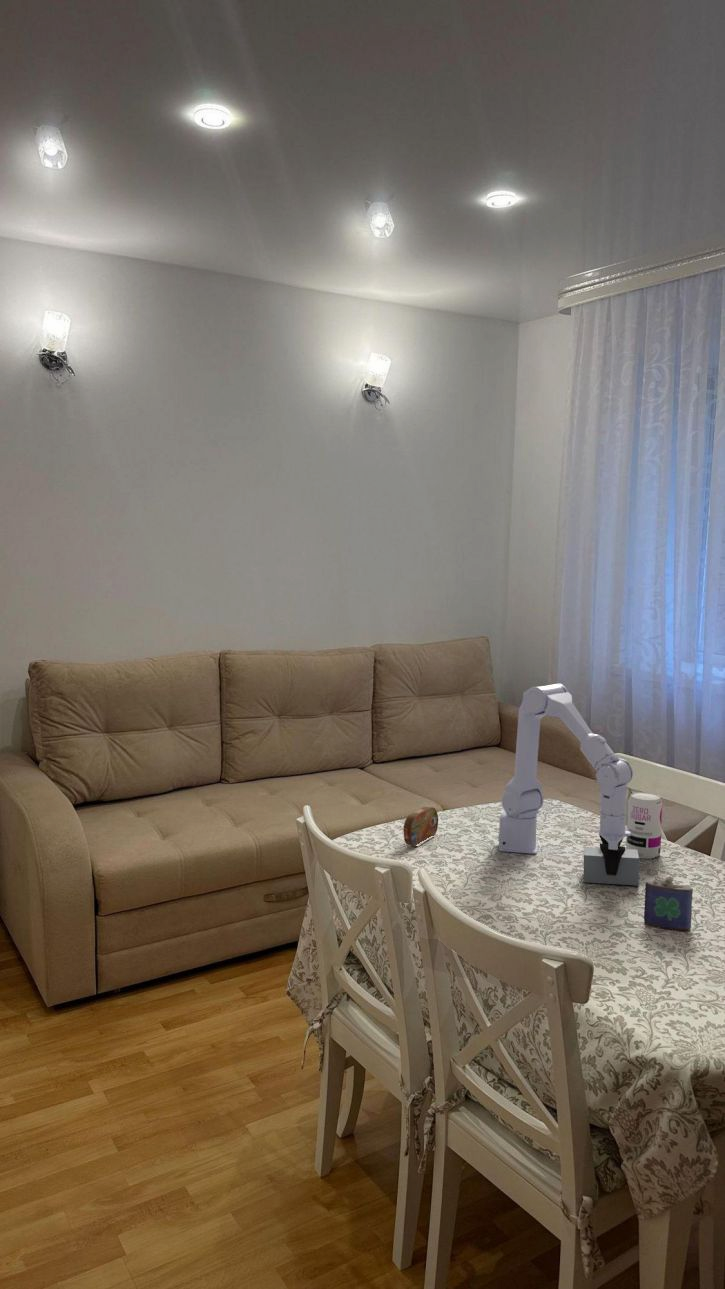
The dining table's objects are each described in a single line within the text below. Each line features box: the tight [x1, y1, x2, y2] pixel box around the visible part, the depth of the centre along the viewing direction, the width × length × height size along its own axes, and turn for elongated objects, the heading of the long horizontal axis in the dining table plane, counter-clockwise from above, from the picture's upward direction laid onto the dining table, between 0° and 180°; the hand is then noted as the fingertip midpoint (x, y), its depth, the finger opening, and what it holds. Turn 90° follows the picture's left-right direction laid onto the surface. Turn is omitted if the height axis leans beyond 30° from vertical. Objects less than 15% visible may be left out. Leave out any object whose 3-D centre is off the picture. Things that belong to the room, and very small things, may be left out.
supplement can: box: [625, 791, 663, 860], centre depth 228 cm, size 8×8×15 cm
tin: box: [403, 806, 439, 847], centre depth 237 cm, size 15×3×8 cm, turn 148°
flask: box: [643, 876, 694, 932], centre depth 186 cm, size 9×3×11 cm, turn 68°
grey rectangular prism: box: [583, 846, 640, 887], centre depth 211 cm, size 12×6×6 cm, turn 77°
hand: (610, 869), depth 211 cm, fingers closed on grey rectangular prism, 6 cm apart
